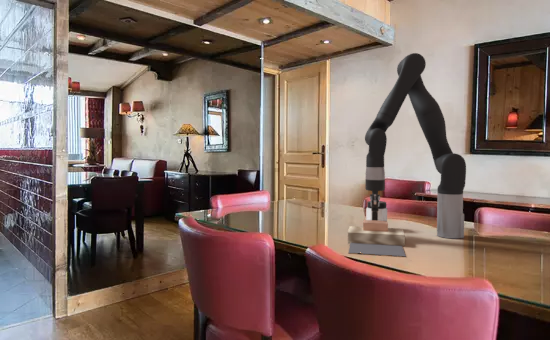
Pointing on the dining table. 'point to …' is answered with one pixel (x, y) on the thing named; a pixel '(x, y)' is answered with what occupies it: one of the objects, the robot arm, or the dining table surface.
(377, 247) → the mat
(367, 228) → the brown rectangular block
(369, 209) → the jar
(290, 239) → the dining table surface
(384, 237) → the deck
